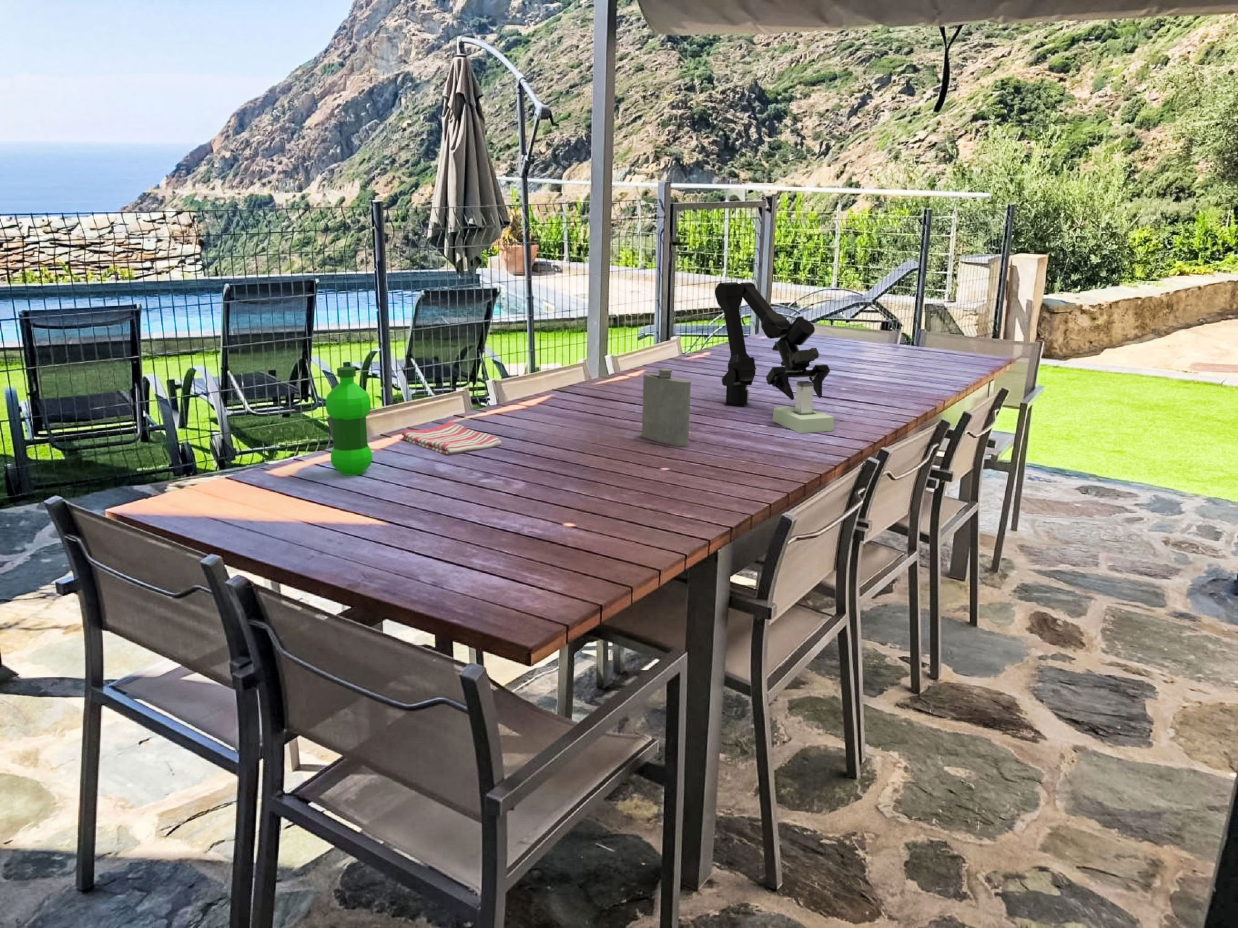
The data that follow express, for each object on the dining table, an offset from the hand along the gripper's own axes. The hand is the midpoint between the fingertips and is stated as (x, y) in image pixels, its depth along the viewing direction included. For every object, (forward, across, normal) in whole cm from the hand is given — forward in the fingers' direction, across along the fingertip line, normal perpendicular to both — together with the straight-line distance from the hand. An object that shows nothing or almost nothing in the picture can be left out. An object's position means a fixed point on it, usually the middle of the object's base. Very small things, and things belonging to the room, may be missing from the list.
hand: (807, 398), depth 278 cm
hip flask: (+9, -46, +4) cm, 47 cm away
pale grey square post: (+5, 0, +7) cm, 9 cm away
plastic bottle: (+14, -130, -2) cm, 130 cm away
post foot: (+5, 0, +7) cm, 9 cm away
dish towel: (-1, -102, +14) cm, 103 cm away
